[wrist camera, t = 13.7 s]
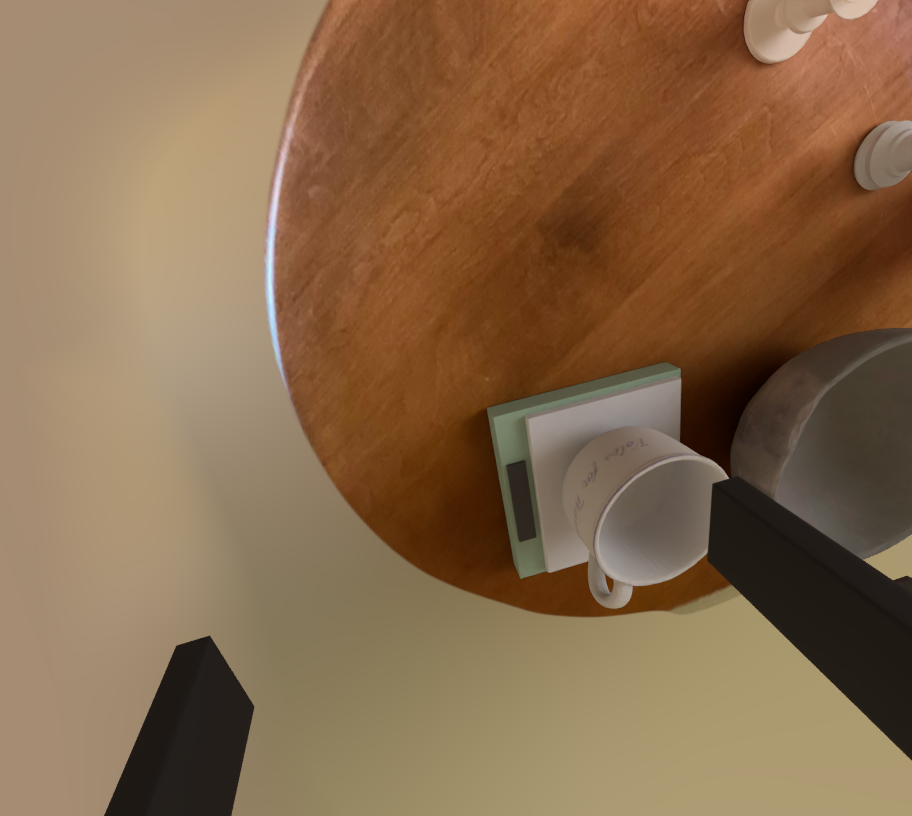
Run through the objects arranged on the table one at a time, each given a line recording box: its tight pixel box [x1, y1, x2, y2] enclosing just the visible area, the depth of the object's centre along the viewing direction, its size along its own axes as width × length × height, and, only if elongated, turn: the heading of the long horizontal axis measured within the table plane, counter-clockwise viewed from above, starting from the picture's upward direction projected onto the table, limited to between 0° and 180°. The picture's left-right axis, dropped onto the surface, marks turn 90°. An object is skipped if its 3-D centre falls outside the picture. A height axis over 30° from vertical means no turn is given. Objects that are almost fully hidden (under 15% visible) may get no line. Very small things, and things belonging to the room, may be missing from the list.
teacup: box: [562, 426, 729, 608], centre depth 34 cm, size 14×11×8 cm
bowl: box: [730, 328, 912, 560], centre depth 38 cm, size 20×20×10 cm
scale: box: [487, 362, 681, 578], centre depth 39 cm, size 16×17×3 cm
